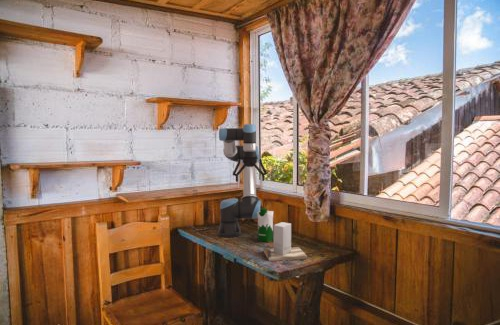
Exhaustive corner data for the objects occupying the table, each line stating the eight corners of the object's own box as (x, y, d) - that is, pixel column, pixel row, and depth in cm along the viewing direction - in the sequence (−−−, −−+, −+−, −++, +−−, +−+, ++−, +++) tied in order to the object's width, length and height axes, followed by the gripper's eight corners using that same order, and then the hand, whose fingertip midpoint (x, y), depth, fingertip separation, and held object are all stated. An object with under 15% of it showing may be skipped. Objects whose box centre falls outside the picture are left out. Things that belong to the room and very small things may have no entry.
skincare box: (282, 249, 198) (282, 221, 197) (292, 252, 193) (292, 223, 192) (272, 253, 191) (272, 224, 190) (283, 256, 187) (283, 226, 186)
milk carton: (255, 241, 221) (255, 208, 220) (263, 237, 229) (263, 206, 228) (268, 243, 216) (267, 210, 215) (275, 239, 224) (275, 207, 223)
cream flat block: (262, 251, 200) (262, 242, 200) (298, 249, 203) (298, 240, 202) (267, 260, 184) (267, 251, 184) (307, 258, 187) (307, 249, 187)
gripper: (228, 151, 205) (229, 188, 206) (272, 150, 209) (272, 187, 210) (227, 150, 212) (228, 186, 214) (269, 150, 216) (269, 185, 217)
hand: (250, 187), depth 212 cm, fingers open, 13 cm apart
